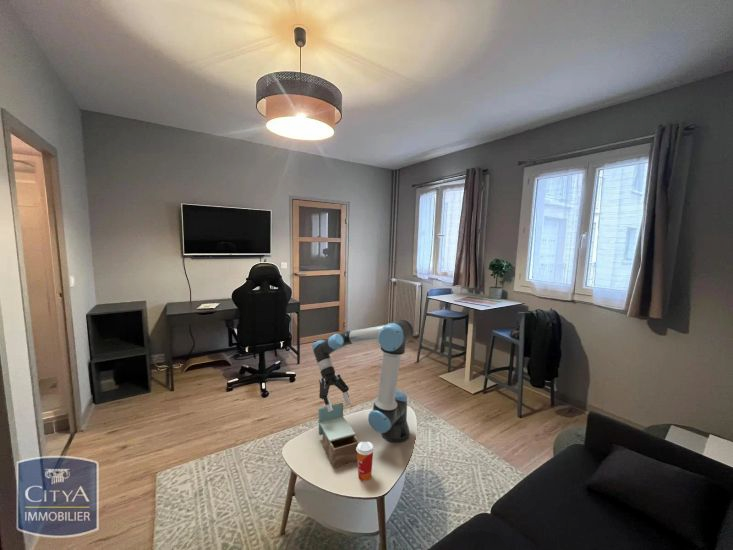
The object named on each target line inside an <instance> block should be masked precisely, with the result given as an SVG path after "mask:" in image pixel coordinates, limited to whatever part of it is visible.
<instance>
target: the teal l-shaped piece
mask: <svg viewBox="0 0 733 550" xmlns="http://www.w3.org/2000/svg"><path fill="white" fill-rule="evenodd" d="M331 405H332V408H333V410H332V411H330V412H328V409H327V406H326V405H325V406H322V407H321V406H320V407H318V436H323V431H324V433H325V435H326V437H327V438H328V440H329V442H332V441H335V440H339V439H342V438H346V437H350V436H353V435H355V436H356V432H355V431H354V430H353V428H352V426H351V425H350V424H349V423H348V421H347V420H346V418H345V417H344V404H343V402H339V403H336V404H331Z"/></svg>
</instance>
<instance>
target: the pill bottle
mask: <svg viewBox="0 0 733 550" xmlns="http://www.w3.org/2000/svg"><path fill="white" fill-rule="evenodd" d="M359 442H360V443H359V444H358V445H357V448H356V450H357V460H358V461H357V475H358V479H359V480H361V481H362V482H368V481H370V479H371V478H372V473H373V472H372V471H373V457H374V451H375V447H374V445H373V443H372V442H370V441H359Z"/></svg>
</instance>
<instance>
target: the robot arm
mask: <svg viewBox="0 0 733 550" xmlns="http://www.w3.org/2000/svg"><path fill="white" fill-rule="evenodd" d="M414 335H415V328H414V326H413V324H412V322H411V321H409V320H408V319H404V318H402V319H401V318H400V319H397V320H394V321H390V322H389V323H387V324H384V325H377V326H372V327H366V328H361V329H360V328H359V329H353V330H345V331H344V332H343V331H342V332H341V333H335V334H333V335H331V336H329V337H328V338H327V339H326V340H322V339H321V340H320V339H319V340H317V341H315V342H313V344H312V345H311V348H312V353H313V354H314V357H315V360H316V363H317V365H318V369H319V371H320V372H319V373H320V376H321V378H320V379H319V380H318V382H319V394H318V395H319V397H318V398H319V399H321V400H323V402H324V405H325V407H326V406H327V409H328V412H330V411H332V410H333V408H332V405H333V404H332V403H331V399H330V397H329V396H328V395H329V392H330V391H329V390H330V387H331V386H335V387H336V388H338V390H339V391H341V392H342V397H343V399H344V402H345V405H346V406H349V405H351V401H350V398H349V397H350V396H349V394H348V391H349V390H350V387H349V386H348V385H347V383H346V382H345V381H344V380H343V378H342V376H341V375H340V374H337V375H336V374H335V373H336V371H335V368H334V366H333V364H334V363H333V362H332V359H331V355H330V354H333V353H334V352H336V351H337V350H339V349H342V348H344V347H346V346H350V345H354V344H363V343H369V342H377V341H378V344H380V345H379V346H380V351H381V352H382V358H381V359H382V360H381V367H380V376H379V383H378V391H377V397H375V398H374V401H373V406H372V410H370V411H369V413H368V416H367V419H368V420H367V421H368V423H369V425H370V426H371V428H372V429H373V430H374V431H375V432H377V433H379V434H381V437H382V438H383V439H385V441H387V442H391V443H397V444H399V443H403V442H406V441H407V440H409V438H410V432H411V431H410V427H409V424H408V420H407V416H408V414H407V413H408V396H407V394H406V393H405V392H404V391H402V390H398V388H397V386H398V380H399V374H400V373H399V372H400V366H401V358H402V356H403V355H404V354H405V352H406V346H407V343H408V342H410V341H411V340H412V338H413V337H414Z"/></svg>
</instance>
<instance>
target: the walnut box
mask: <svg viewBox="0 0 733 550" xmlns="http://www.w3.org/2000/svg"><path fill="white" fill-rule="evenodd" d="M360 442H361V441H360V440H359V438H357V436H356V434H355V435H353V436H350V437H346V438H342V439H339V440H335V441H332V442H329V440H328V438H327V437H326V435H325V433H324V431H323V435H322V448H323V449H322V450H323V451H324V453H325V455H326V457H327V458H328V461H329V462H330V464H331V466H332V468H333V469H337V468H341V467H343V466H347V465H350V464H354V463H356V462H357V463H358V460H357V450H356V448H357V445H358V444H359V443H360Z"/></svg>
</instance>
